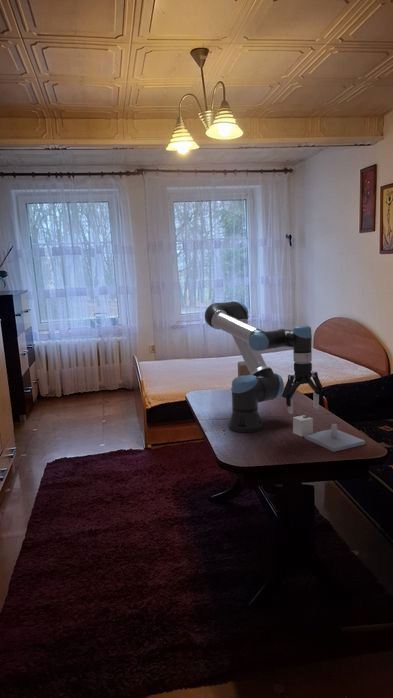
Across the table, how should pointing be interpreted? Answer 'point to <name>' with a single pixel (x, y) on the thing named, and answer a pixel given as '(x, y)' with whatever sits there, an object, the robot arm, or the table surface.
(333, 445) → the plate
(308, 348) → the robot arm
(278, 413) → the table surface
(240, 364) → the wooden block
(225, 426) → the table surface
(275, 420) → the table surface
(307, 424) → the white box
